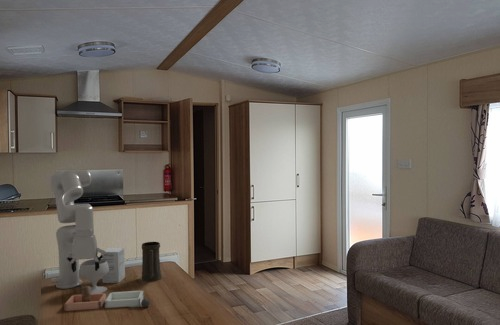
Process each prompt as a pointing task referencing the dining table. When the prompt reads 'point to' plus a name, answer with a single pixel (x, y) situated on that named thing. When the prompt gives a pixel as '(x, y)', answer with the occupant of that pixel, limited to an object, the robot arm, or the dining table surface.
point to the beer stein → (150, 261)
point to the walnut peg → (86, 294)
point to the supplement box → (114, 265)
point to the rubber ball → (145, 302)
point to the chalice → (94, 274)
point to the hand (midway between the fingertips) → (85, 270)
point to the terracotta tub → (77, 303)
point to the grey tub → (124, 299)
